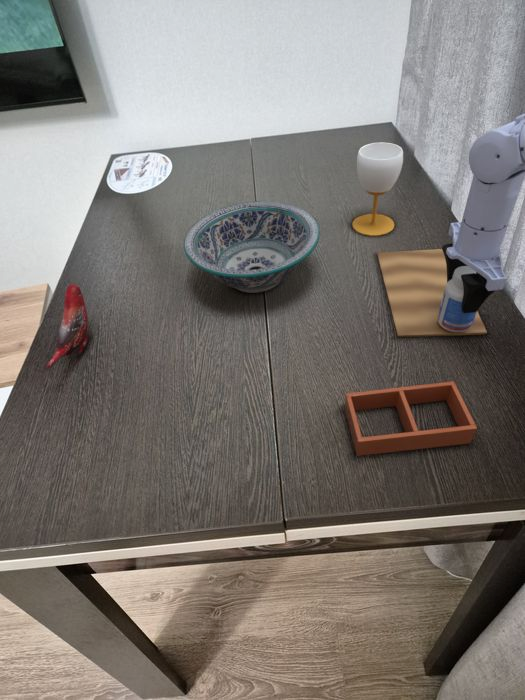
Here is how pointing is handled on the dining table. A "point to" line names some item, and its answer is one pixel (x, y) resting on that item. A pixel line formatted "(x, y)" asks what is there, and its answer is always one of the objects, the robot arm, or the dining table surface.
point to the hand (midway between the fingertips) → (461, 298)
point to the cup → (377, 183)
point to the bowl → (252, 243)
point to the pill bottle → (455, 304)
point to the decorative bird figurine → (72, 325)
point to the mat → (418, 292)
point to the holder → (410, 418)
